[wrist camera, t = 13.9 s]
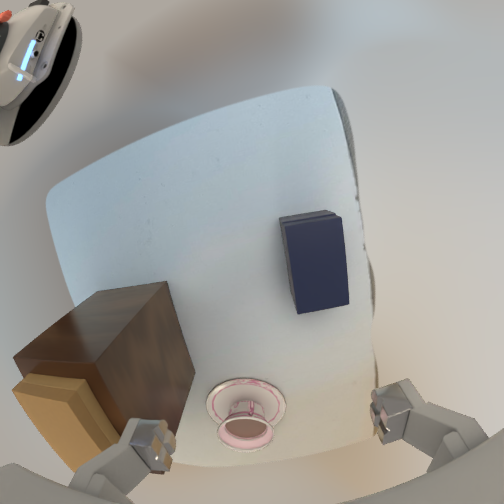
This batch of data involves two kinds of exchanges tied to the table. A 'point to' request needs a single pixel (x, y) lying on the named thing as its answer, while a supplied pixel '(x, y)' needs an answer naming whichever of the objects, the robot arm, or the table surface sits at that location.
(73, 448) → the tan books
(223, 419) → the teacup
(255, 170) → the table surface
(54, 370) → the book stand
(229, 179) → the table surface
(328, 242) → the navy book
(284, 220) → the navy books
